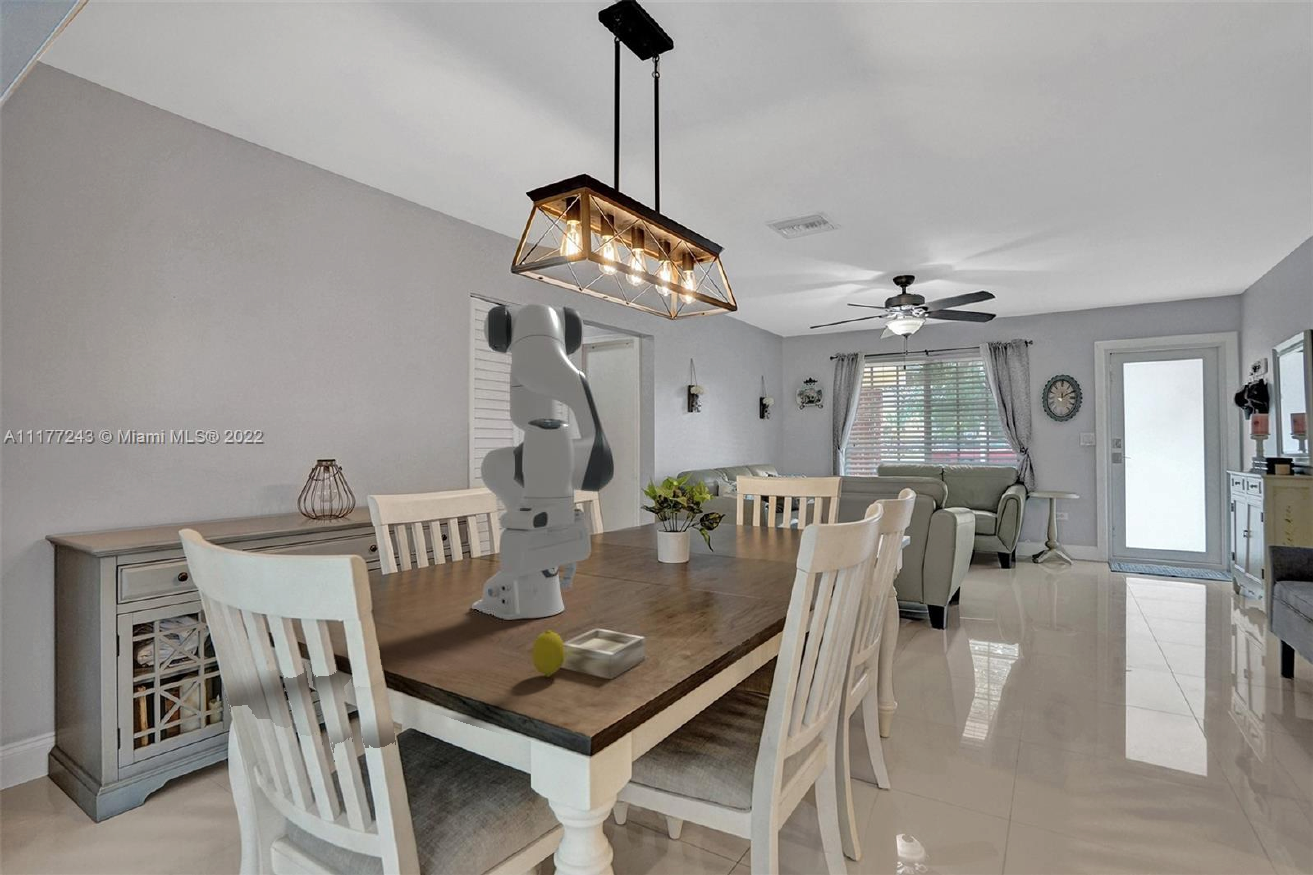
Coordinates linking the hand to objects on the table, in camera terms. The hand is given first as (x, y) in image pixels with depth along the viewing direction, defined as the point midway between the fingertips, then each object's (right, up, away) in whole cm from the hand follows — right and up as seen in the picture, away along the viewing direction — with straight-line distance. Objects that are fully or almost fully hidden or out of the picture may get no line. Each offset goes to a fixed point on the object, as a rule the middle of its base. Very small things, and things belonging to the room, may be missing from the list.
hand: (548, 593), depth 109 cm
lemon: (0, -15, 0) cm, 15 cm away
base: (+9, -14, +7) cm, 18 cm away
